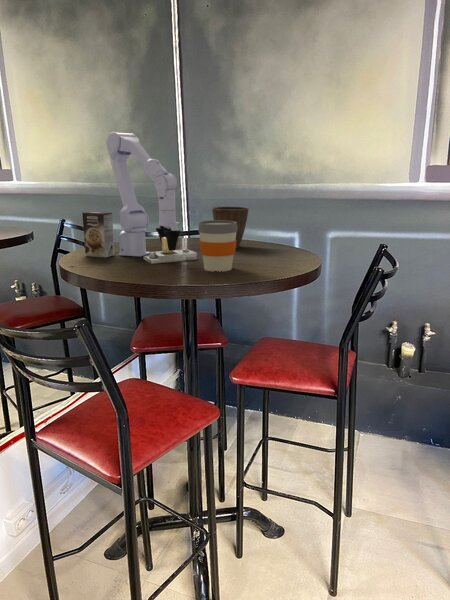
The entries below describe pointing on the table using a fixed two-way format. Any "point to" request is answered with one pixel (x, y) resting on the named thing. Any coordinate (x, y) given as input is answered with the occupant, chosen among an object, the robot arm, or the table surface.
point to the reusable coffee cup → (217, 244)
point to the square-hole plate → (171, 256)
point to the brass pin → (165, 247)
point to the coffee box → (98, 234)
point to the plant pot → (232, 218)
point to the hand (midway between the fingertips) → (168, 248)
